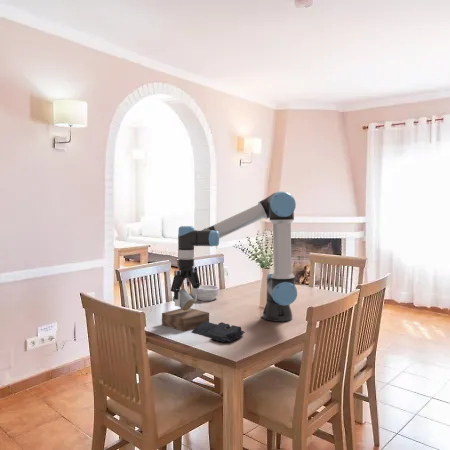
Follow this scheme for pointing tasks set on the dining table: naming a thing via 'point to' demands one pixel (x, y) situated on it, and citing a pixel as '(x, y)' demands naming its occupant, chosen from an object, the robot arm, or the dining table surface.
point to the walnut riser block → (184, 319)
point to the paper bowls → (207, 292)
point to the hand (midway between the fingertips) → (185, 303)
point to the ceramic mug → (185, 299)
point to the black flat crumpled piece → (219, 331)
